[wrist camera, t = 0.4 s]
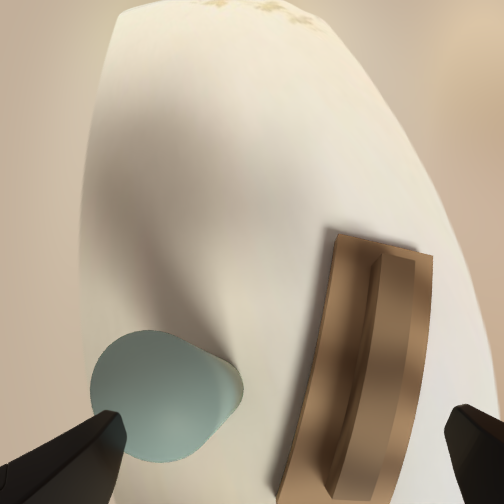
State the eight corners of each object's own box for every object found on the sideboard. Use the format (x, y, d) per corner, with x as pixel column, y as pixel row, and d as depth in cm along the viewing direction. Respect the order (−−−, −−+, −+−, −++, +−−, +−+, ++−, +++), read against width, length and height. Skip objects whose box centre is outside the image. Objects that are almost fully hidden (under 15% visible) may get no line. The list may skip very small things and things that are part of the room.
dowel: (253, 405, 20) (242, 439, 8) (194, 427, 19) (118, 473, 8) (228, 347, 22) (187, 310, 10) (170, 369, 21) (75, 353, 10)
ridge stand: (379, 506, 16) (398, 525, 12) (275, 498, 17) (278, 520, 13) (424, 262, 23) (447, 242, 20) (334, 241, 24) (346, 217, 21)
